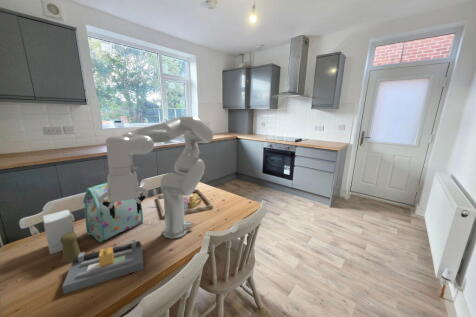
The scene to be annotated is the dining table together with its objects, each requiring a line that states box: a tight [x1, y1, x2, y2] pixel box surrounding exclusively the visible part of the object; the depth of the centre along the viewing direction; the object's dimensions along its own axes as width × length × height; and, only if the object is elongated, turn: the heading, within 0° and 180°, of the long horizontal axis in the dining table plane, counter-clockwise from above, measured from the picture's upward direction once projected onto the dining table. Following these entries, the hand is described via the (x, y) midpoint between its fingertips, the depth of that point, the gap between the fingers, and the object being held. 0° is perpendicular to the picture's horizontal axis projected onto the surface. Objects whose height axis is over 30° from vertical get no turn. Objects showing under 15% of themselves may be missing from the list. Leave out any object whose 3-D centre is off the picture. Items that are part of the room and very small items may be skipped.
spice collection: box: [183, 193, 203, 210], centre depth 131 cm, size 25×24×9 cm
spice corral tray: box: [155, 188, 214, 220], centre depth 131 cm, size 31×32×3 cm
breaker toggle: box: [99, 246, 114, 267], centre depth 73 cm, size 4×4×6 cm
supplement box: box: [42, 209, 75, 255], centre depth 86 cm, size 9×9×15 cm
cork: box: [60, 231, 82, 264], centre depth 79 cm, size 6×6×11 cm
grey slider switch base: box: [61, 239, 144, 295], centre depth 75 cm, size 24×13×5 cm, turn 118°
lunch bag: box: [82, 182, 144, 243], centre depth 99 cm, size 23×16×27 cm
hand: (126, 214), depth 73 cm, fingers open, 7 cm apart
